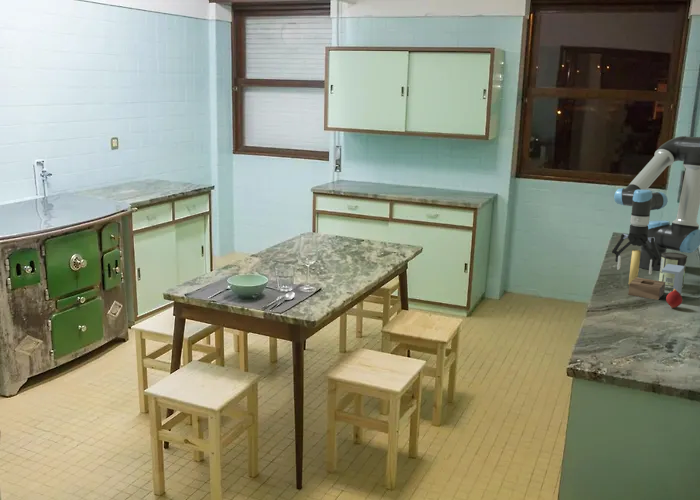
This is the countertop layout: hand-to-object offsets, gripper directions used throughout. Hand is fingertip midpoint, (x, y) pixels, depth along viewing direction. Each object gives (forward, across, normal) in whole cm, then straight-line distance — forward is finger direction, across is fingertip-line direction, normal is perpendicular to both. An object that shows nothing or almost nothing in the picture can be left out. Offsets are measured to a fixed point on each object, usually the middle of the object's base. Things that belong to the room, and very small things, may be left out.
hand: (634, 271), depth 295 cm
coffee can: (+7, +14, +10) cm, 18 cm away
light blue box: (+6, +17, -11) cm, 21 cm away
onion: (+7, +21, -25) cm, 33 cm away
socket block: (+6, +8, -11) cm, 15 cm away
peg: (+6, 0, 0) cm, 6 cm away
